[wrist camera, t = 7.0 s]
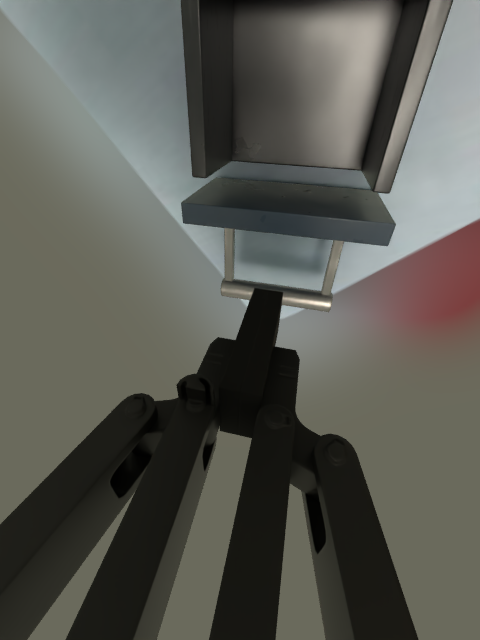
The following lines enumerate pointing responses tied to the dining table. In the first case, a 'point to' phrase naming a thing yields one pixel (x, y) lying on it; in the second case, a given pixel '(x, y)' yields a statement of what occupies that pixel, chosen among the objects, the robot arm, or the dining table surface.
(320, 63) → the pull-out drawer box
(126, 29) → the dining table surface
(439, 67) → the dining table surface
